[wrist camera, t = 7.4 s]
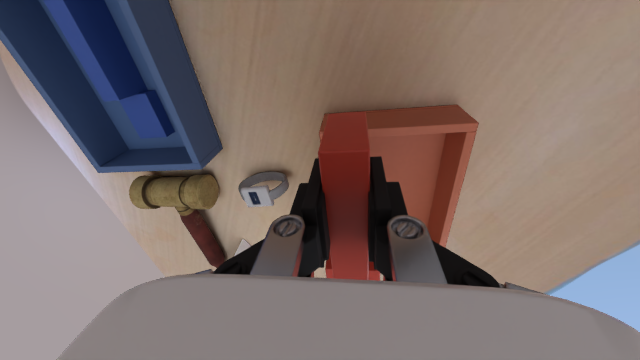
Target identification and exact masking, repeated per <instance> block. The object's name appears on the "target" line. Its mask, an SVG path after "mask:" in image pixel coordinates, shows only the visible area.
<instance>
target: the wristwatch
mask: <svg viewBox="0 0 640 360" xmlns="http://www.w3.org/2000/svg"><path fill="white" fill-rule="evenodd" d="M267 180H279V181H282V183H281V184H280V185H279V186H277V187H276V188H274V189H272V190H269V187H268V185H266V186H254V187H251V186H252V185H254V184H257V183H259V182H262V181H267ZM288 187H289V183H288V180H287V177H286V175H285V174H283V173H280V172H271V171H270V172H262V173H258V174H255V175H252V176H250V177H248V178H246V179H245V180H243V181H242V182H241V183H240V185H239V192H240V194H241V197H242V199H243V200H244V201H245V202H246V204H247V206H248V207H259V206H273V205H274V201H273V200H274V199H276V198H278V197H280V196H281V195H282V194H283V193H285V191H286V190H287V189H288Z"/></svg>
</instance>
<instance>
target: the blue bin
mask: <svg viewBox="0 0 640 360" xmlns="http://www.w3.org/2000/svg"><path fill="white" fill-rule="evenodd" d="M104 1H105V3H106V5H107V7H108V9H109V11H110V13H111V15H112V17H113V19H114V21H115V23H116V25H117V27H118V29H119V31H120V34H121V36H122V38H123V40H124V42H125V44H126V46H127V48H128V50H129V52H130V54H131V56H132V58H133V60H134V62H135V64H136V66H137V68H138V70H139V72H140V75H141V77H142V79H143V81H144V83H145V85H146V87H147V89H148V90H156V92H157V94H158V97H159V99H160V101H161V103H162V105H163V107H164V109H165V111H166V114H167V116H168V118H169V120H170V122H171V124H172V126H173V128H174V131H175V132H174V133H173V134H171V135H169V136H168V137H160V138H143V139H141V138H140V137H139V135H138V133H137V132H136V130H135V128H134V126H133V125H132V123H131V121H130V119H129V117H128V116H127V114H126V112H125V110H124V109H123V107H122V105H121V103H120V102H119V100H117V101H106V102H104V101H103V99H102V98H101V96H100V94H99V93H98V91H97V89H96V88H95V86H94V84H93V83H92V81H91V79H90V78H89V76H88V74H87V73H86V71H85V69H84V68H83V66H82V64H81V63H80V61H79V59H78V58H77V56H76V54H75V53H74V51H73V49H72V48H71V46H70V44H69V43H68V41H67V39H66V38H65V36H64V34H63V33H62V31H61V29H60V28H59V26H58V24H57V23H56V21H55V19H54V18H53V16H52V14H51V13H50V11H49V9H48V8H47V6H46V4H45V3H44V1H43V0H0V40H1V41H2V43H3V44H4V45H5V47H6V48H7V49H8V51H9V52H10V53H11V55H12V56H13V58H14V59H15V60H16V62H17V63H18V64H19V66H20V67H21V68H22V70H23V71H24V73H25V74H26V75H27V77H28V78H29V79H30V81H31V82H32V83H33V85H34V86H35V87H36V89H37V90H38V92H39V93H40V94H41V96H42V97H43V98H44V100H45V101H46V102H47V104H48V105H49V107H50V108H51V109H52V111H53V112H54V113H55V115H56V116H57V117H58V119H59V120H60V122H61V123H62V124H63V126H64V127H65V128H66V130H67V131H68V132H69V134H70V135H71V137H72V138H73V139H74V141H75V142H76V143H77V145H78V146H79V147H80V149H81V150H82V151H83V153H84V154H85V156H86V157H87V158H88V160H89V161H90V162H91V164H92V165H93V166H94V168H95V169H96V170H97V172H98V173H108V172H137V171H166V170H195V169H203V168H204V167H205V166H206V165H207V164H208V163H209V162H210V161H211V160H212V159H213V158H214V157H215V156H216V155H217V154H218V153H219V152H220V151H221V150H222V149H223V147H222V145H221V142H220V139H219V137H218V134H217V131H216V129H215V126H214V123H213V120H212V118H211V115H210V112H209V110H208V107H207V104H206V101H205V99H204V96H203V93H202V91H201V88H200V85H199V82H198V80H197V77H196V74H195V72H194V69H193V66H192V63H191V61H190V58H189V55H188V53H187V50H186V47H185V44H184V42H183V39H182V36H181V34H180V31H179V28H178V26H177V23H176V20H175V17H174V15H173V12H172V9H171V7H170V4H169V1H168V0H104Z"/></svg>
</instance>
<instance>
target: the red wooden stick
mask: <svg viewBox="0 0 640 360" xmlns="http://www.w3.org/2000/svg"><path fill="white" fill-rule="evenodd" d="M318 157H319V166H320V174H321V182H322V190H323V192H324V193H325V201H326V210H327V218H328V227H329V236H330V253H329V260H326V268H325V270H326V276H327V278H334V279H355V280H376V281H380V272H379V271H378V270H374V262H369V257H368V192H369V191H370V144H369V135H368V127H367V118H366V112H349V113H333V114H328V117H327V121H326V125H325V129H324V132H323V136H322V140H321V143H320V147H319V151H318Z"/></svg>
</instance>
